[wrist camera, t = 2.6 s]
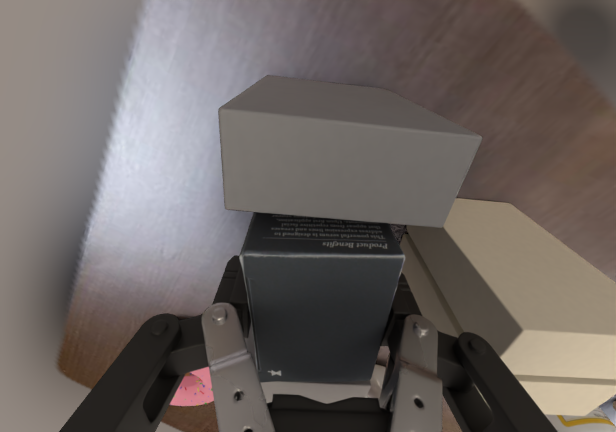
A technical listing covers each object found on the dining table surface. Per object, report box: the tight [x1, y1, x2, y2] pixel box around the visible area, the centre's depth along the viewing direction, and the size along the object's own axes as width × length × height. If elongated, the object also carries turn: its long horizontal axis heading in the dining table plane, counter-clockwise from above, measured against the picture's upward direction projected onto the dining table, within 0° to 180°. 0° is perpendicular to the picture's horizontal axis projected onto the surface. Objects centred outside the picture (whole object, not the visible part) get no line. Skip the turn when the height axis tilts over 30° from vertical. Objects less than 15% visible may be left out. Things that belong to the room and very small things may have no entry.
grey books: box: [218, 75, 482, 404], centre depth 15 cm, size 16×7×10 cm, turn 174°
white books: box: [399, 198, 616, 416], centre depth 17 cm, size 6×7×11 cm
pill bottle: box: [545, 406, 616, 432], centre depth 25 cm, size 6×6×12 cm
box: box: [239, 212, 405, 383], centre depth 15 cm, size 8×6×11 cm
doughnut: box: [169, 367, 214, 407], centre depth 27 cm, size 11×11×4 cm
